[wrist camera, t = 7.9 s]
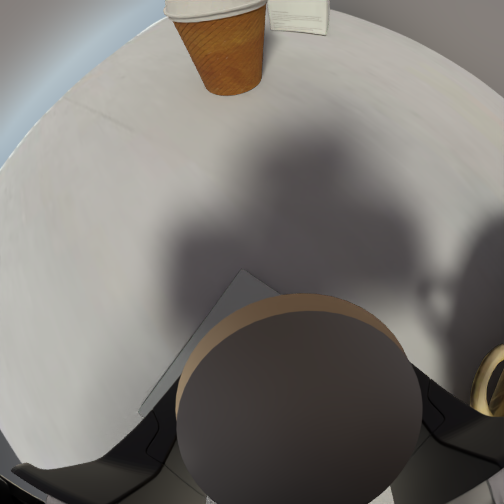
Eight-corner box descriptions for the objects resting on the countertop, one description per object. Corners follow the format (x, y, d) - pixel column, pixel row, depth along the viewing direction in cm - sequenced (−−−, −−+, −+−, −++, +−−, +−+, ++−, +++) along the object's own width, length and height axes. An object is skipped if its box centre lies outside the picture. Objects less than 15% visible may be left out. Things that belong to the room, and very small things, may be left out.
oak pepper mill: (285, 423, 14) (291, 569, 2) (226, 366, 16) (99, 411, 4) (345, 364, 15) (484, 397, 3) (285, 309, 16) (301, 217, 5)
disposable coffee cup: (188, 113, 25) (150, 14, 14) (192, 66, 28) (167, -13, 17) (283, 99, 24) (278, -9, 13) (269, 54, 27) (262, -29, 16)
